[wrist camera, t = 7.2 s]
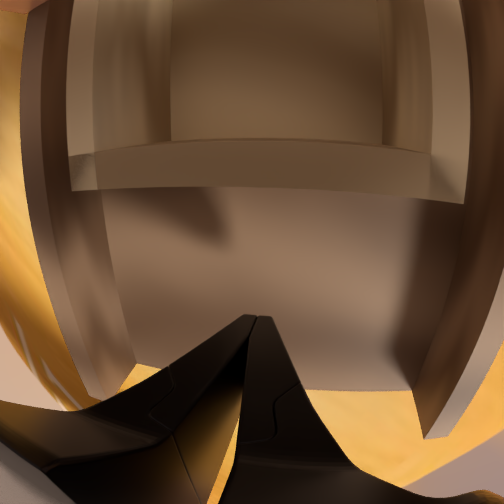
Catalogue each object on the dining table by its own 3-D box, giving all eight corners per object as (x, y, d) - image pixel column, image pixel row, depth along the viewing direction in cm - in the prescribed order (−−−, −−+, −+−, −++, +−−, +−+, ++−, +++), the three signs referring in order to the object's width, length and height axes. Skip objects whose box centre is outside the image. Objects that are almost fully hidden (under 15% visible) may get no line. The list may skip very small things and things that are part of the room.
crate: (399, 171, 9) (463, 204, 5) (159, 164, 10) (71, 191, 6) (391, -22, 6) (428, -91, 2) (160, -13, 7) (88, -63, 3)
